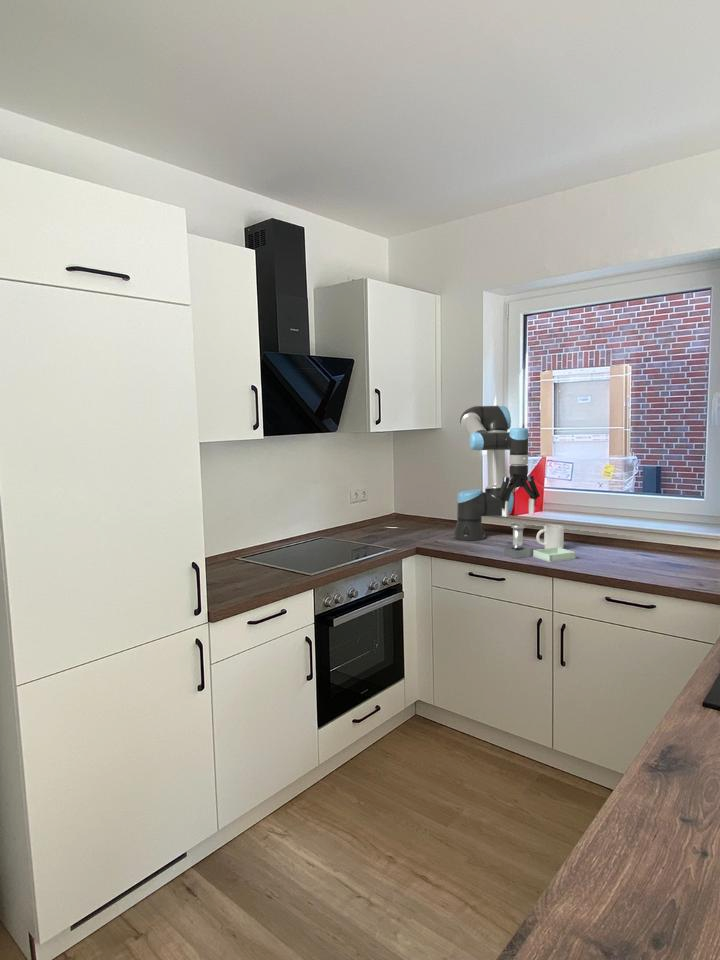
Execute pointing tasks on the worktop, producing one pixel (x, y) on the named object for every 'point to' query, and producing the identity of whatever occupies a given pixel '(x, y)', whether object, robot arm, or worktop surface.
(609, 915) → the worktop surface
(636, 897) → the worktop surface
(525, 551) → the hitch plate
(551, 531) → the mug
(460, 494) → the robot arm
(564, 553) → the tray
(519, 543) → the pin
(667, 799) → the worktop surface
